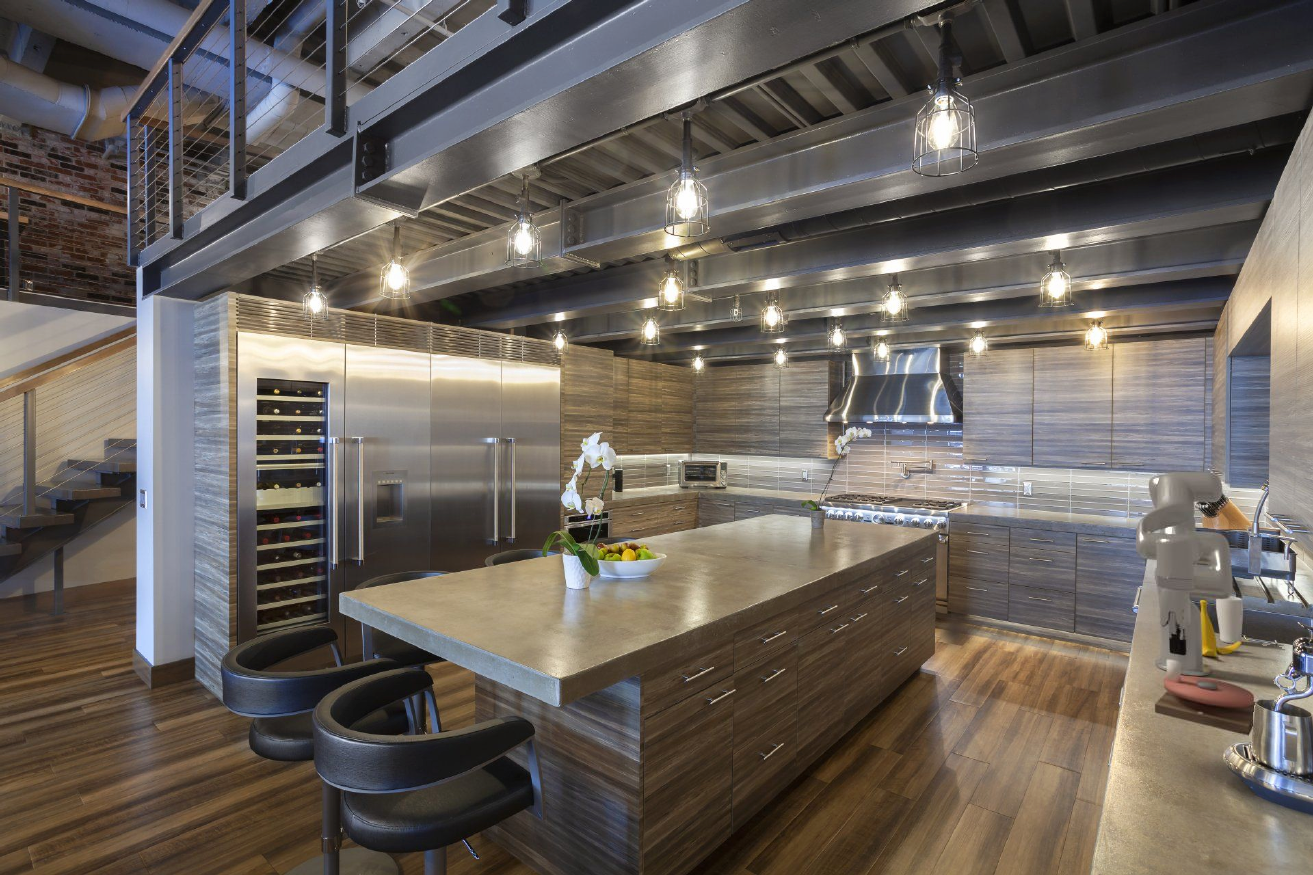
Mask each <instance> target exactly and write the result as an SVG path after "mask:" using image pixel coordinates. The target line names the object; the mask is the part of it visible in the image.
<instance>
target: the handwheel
mask: <svg viewBox="0 0 1313 875" xmlns="http://www.w3.org/2000/svg"><path fill="white" fill-rule="evenodd" d="M1163 687H1164V689H1165V690H1166V692H1167V691H1169V692H1170V693H1172V694H1174V695H1177V696H1179V697H1182V698H1185V699H1188V700H1192V701H1195V702H1199V703H1204V704H1209V705H1215V706H1223V707H1248V706H1251V705H1253V704H1254V702H1255V696H1254V693H1252V692H1251V691H1249V690H1248V689H1246V688H1245V687H1244V688H1243V687H1241V686H1239V685H1236V684H1234V683H1229V682H1226V681H1224V680H1223V681H1222V680H1219V679H1213V678H1208V677H1203V676H1192V675H1182V674H1181V664H1180V662H1179V661H1176V660H1167V671H1166V677H1165V678H1163Z"/></svg>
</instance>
